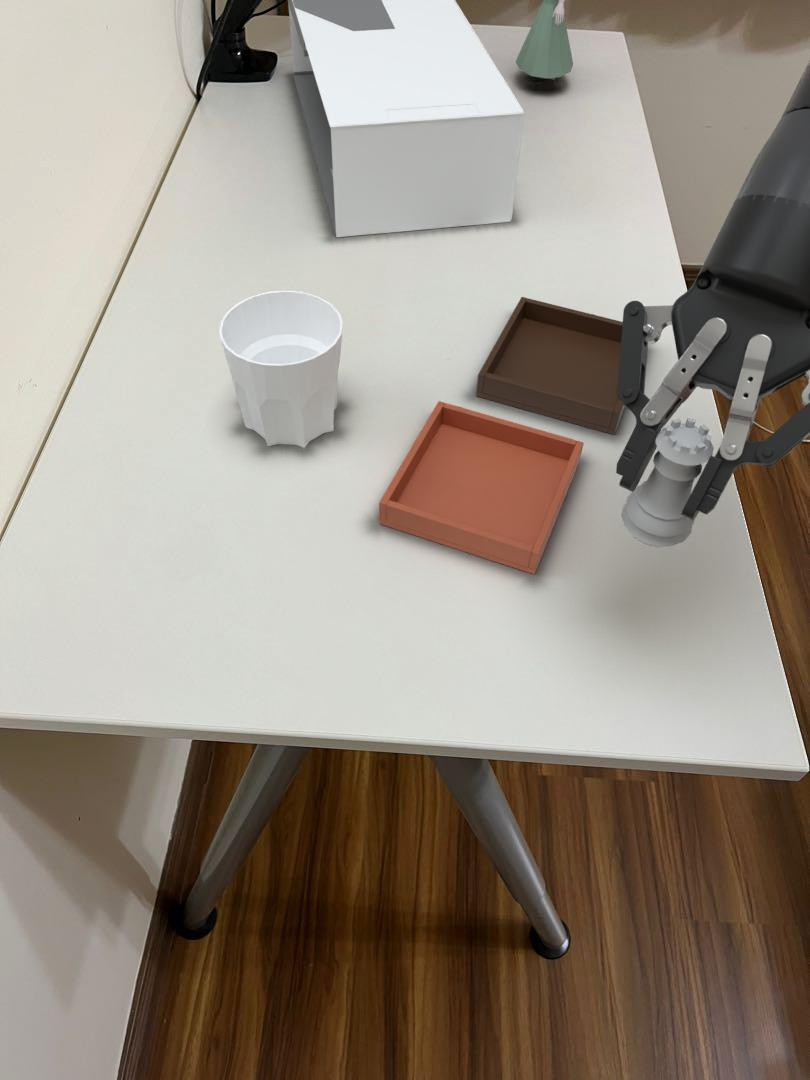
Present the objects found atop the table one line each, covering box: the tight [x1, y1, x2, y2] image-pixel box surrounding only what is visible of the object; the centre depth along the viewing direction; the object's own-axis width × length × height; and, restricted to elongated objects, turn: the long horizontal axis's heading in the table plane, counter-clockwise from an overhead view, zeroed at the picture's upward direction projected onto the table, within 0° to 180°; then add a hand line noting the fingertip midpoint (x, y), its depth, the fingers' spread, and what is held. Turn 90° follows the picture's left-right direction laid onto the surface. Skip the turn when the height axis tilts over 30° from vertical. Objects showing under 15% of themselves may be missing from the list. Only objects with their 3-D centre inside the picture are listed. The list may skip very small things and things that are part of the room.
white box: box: [287, 0, 526, 238], centre depth 106 cm, size 45×21×12 cm, turn 11°
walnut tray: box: [475, 296, 626, 436], centre depth 80 cm, size 13×13×3 cm
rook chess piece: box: [620, 417, 714, 548], centre depth 51 cm, size 4×4×8 cm
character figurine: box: [515, 0, 574, 91], centre depth 117 cm, size 16×8×18 cm, turn 178°
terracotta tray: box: [378, 400, 585, 575], centre depth 70 cm, size 13×13×3 cm
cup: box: [218, 290, 344, 449], centre depth 73 cm, size 10×10×10 cm
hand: (657, 501), depth 50 cm, fingers closed on rook chess piece, 3 cm apart
